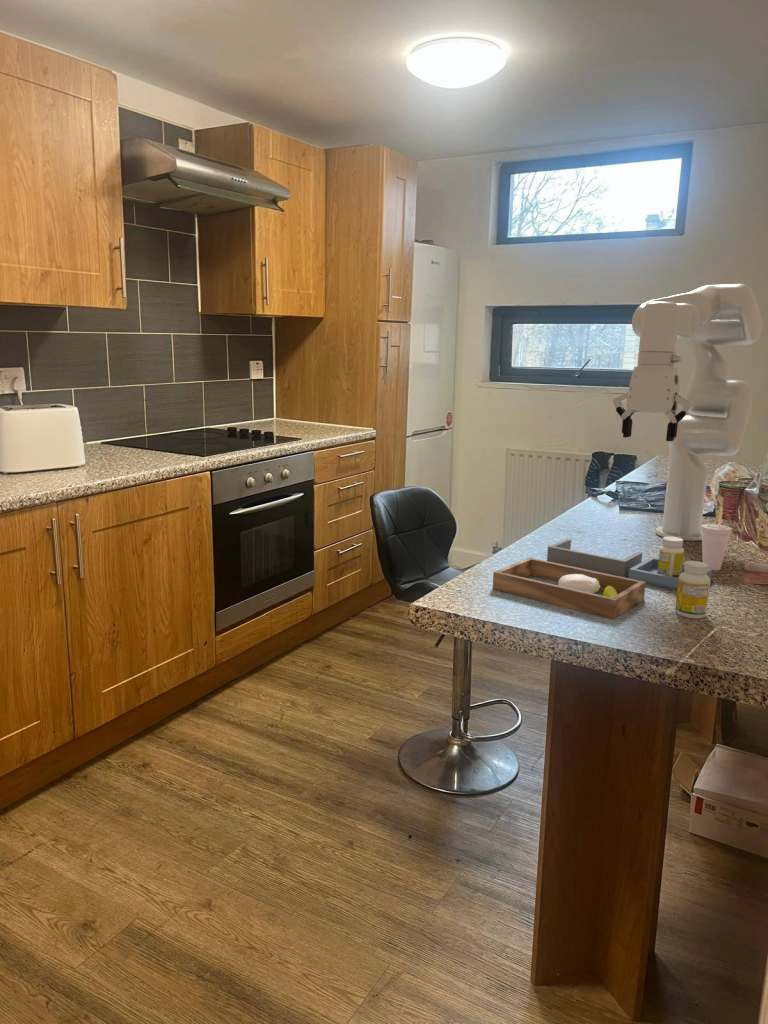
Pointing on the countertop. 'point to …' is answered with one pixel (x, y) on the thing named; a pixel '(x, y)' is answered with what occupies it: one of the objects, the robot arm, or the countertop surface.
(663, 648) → the countertop surface
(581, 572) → the wooden rectangular frame
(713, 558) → the smoothie
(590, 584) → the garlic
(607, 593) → the plate of lemons
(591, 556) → the bay
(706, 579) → the supplement bottle
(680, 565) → the supplement bottle
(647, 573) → the tray
